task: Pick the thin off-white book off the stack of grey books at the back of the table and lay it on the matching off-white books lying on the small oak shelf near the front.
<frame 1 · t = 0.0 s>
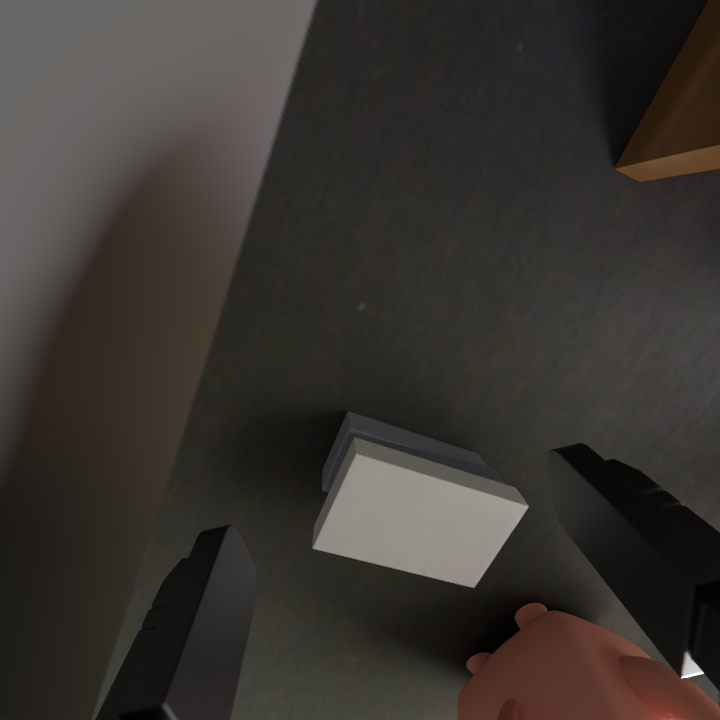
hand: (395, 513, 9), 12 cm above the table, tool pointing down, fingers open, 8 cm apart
grey books: (401, 461, 22), on the table
teapot: (539, 641, 30), on the table
white book: (414, 506, 19), point 4 cm above the table, touching grey books
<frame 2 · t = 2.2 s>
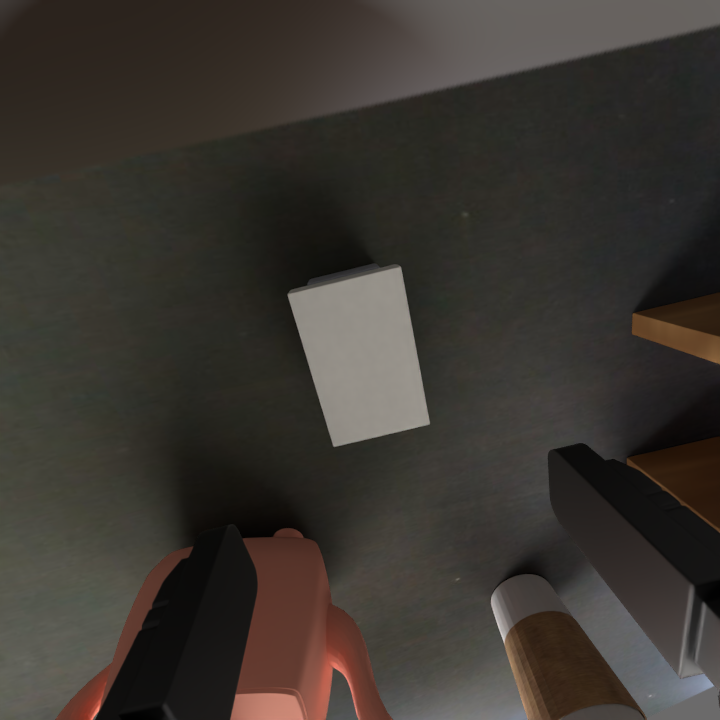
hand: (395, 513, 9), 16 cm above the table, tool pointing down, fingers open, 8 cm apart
shelf: (692, 384, 27), on the table
grey books: (358, 336, 24), on the table
coffee cup: (519, 594, 34), on the table
teapot: (266, 569, 31), on the table
white book: (362, 356, 20), point 4 cm above the table, touching grey books
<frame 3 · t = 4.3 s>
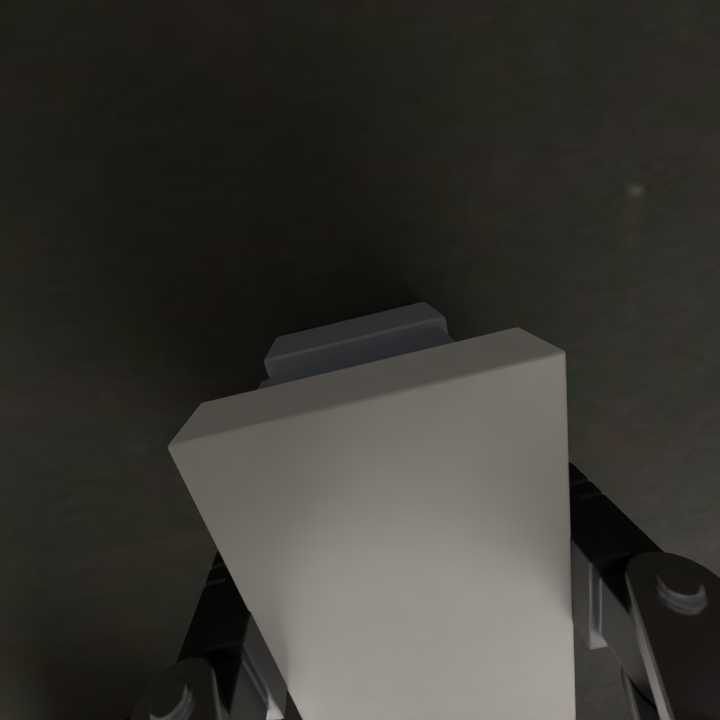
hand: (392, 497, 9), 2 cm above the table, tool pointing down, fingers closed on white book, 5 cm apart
grey books: (382, 449, 12), on the table
white book: (405, 552, 8), point 4 cm above the table, touching grey books, gripper
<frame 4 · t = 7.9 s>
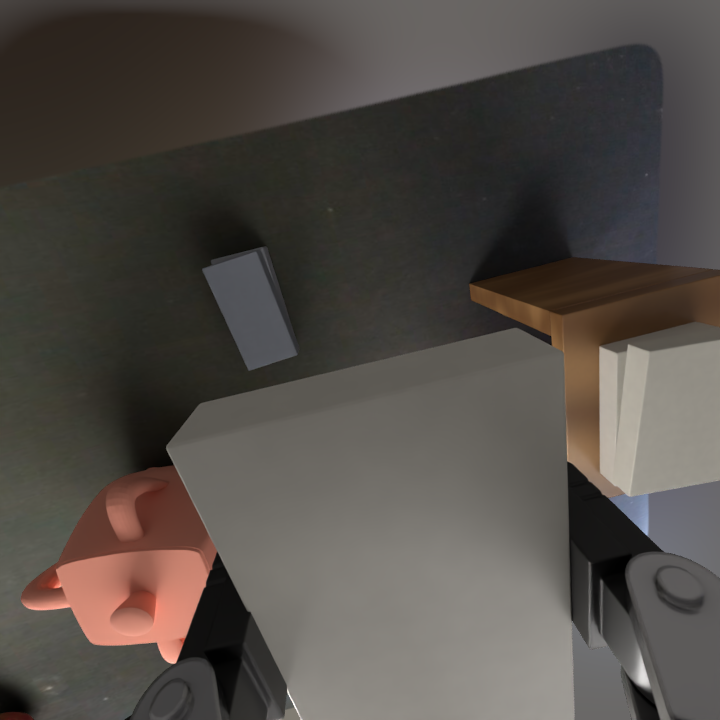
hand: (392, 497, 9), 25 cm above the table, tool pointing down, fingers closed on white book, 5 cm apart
white books: (644, 402, 22), resting on shelf
shelf: (526, 340, 35), on the table
grey books: (259, 303, 32), on the table
fruit: (24, 710, 47), on the table
teapot: (203, 497, 38), on the table
white book: (404, 552, 8), point 27 cm above the table, touching gripper
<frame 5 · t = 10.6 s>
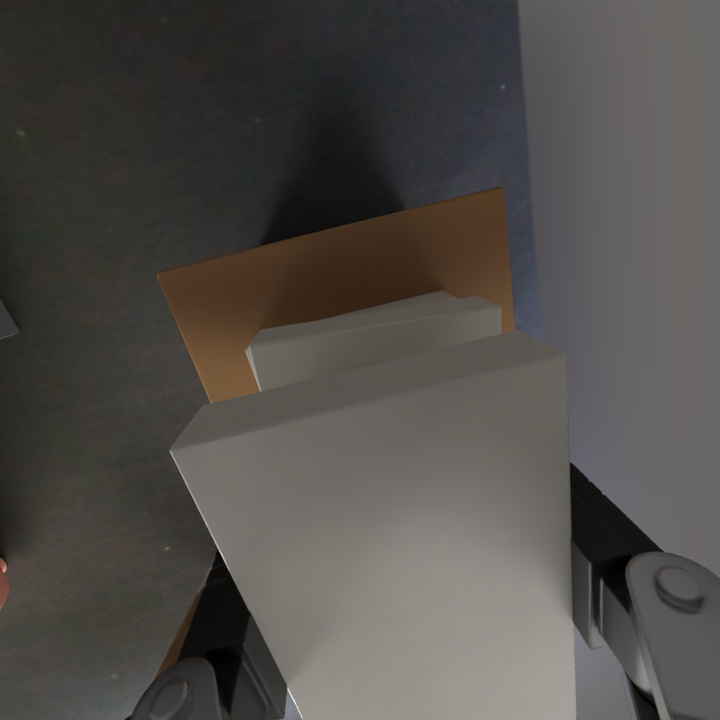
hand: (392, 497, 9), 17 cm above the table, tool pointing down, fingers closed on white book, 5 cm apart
white books: (380, 440, 12), resting on shelf
shelf: (356, 332, 25), on the table
coffee cup: (245, 565, 32), on the table
white book: (406, 554, 8), point 19 cm above the table, touching gripper
when the fingers open (17 cm above the table, at t = 11.5 s): white book drops 1 cm, resting on white books.
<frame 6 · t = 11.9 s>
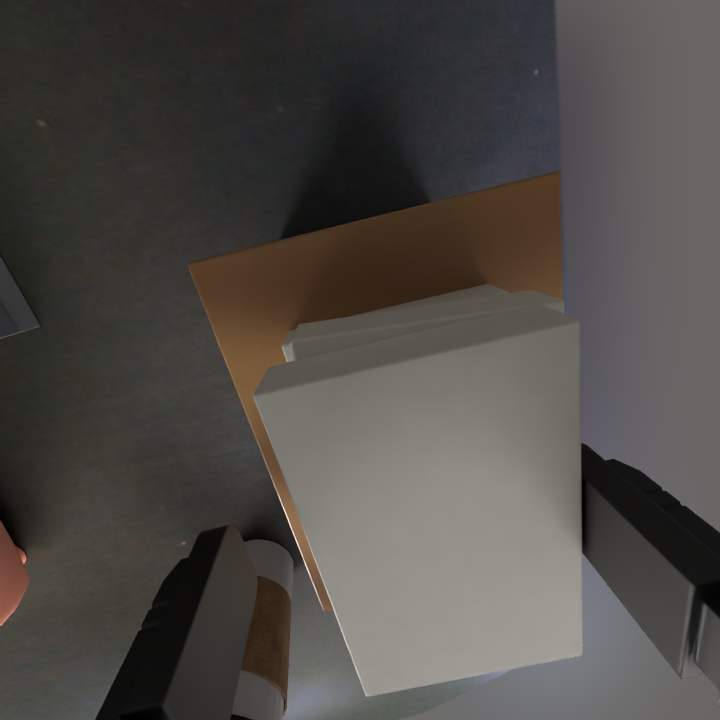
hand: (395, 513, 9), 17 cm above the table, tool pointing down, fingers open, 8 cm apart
white books: (415, 441, 12), resting on shelf
shelf: (377, 328, 25), on the table
coffee cup: (261, 561, 32), on the table
white book: (434, 503, 9), point 17 cm above the table, touching white books
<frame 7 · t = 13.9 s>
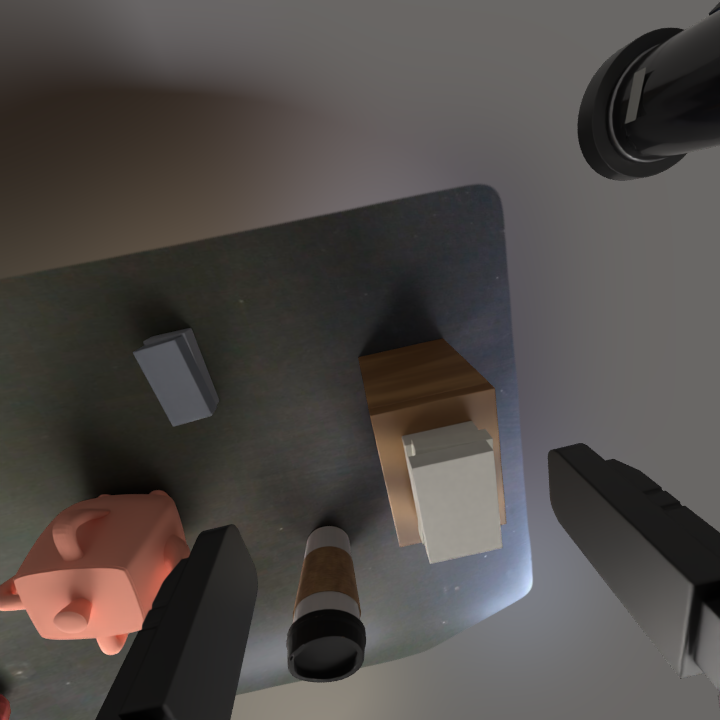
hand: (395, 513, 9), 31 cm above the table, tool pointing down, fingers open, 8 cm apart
white books: (443, 474, 30), resting on shelf
shelf: (410, 400, 43), on the table
grey books: (187, 369, 40), on the table
coffee cup: (328, 541, 50), on the table
teapot: (147, 518, 46), on the table
white book: (453, 497, 27), point 17 cm above the table, touching white books
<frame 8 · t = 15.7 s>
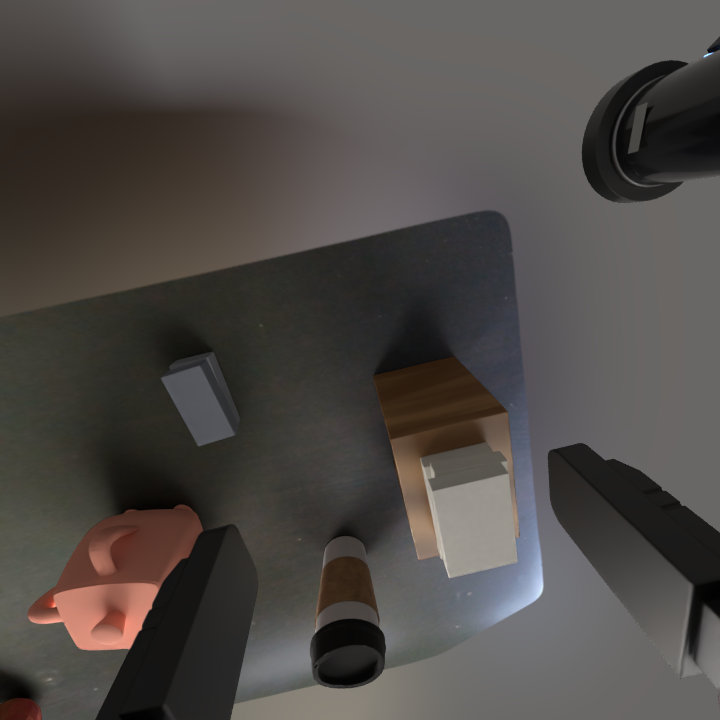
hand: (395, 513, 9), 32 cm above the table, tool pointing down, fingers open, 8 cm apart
white books: (459, 491, 32), resting on shelf
shelf: (423, 415, 45), on the table
grey books: (209, 390, 42), on the table
fruit: (29, 697, 58), on the table
coffee cup: (344, 550, 52), on the table
teapot: (171, 531, 48), on the table
white book: (470, 515, 29), point 17 cm above the table, touching white books
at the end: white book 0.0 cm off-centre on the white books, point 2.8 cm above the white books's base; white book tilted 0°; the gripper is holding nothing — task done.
